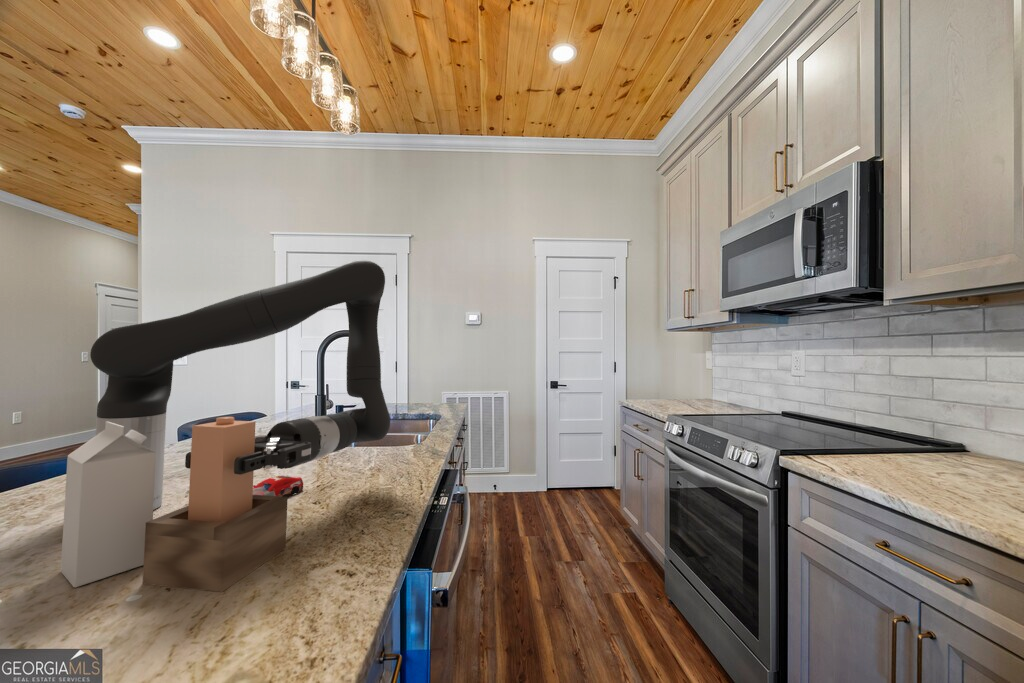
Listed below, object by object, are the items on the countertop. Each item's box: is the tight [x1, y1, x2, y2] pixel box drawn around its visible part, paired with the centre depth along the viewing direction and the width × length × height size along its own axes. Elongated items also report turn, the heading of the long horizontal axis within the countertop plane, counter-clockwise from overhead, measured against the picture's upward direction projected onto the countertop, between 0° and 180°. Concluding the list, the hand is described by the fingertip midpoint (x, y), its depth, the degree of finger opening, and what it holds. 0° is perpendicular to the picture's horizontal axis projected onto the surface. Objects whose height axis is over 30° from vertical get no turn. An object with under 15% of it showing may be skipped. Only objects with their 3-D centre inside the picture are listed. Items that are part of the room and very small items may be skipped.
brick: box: [188, 416, 256, 522], centre depth 54 cm, size 5×5×14 cm
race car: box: [253, 475, 304, 497], centre depth 79 cm, size 13×5×4 cm, turn 161°
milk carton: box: [60, 421, 156, 588], centre depth 53 cm, size 7×7×19 cm
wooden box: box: [142, 495, 289, 593], centre depth 54 cm, size 11×11×8 cm
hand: (211, 463), depth 53 cm, fingers open, 8 cm apart
